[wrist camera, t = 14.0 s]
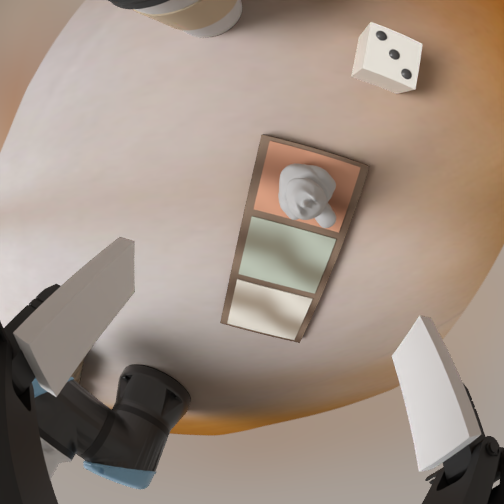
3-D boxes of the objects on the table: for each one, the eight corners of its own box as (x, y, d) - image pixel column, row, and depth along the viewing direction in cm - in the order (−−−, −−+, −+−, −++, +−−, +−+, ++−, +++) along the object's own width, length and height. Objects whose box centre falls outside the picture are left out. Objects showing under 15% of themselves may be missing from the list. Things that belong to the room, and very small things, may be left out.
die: (396, 93, 21) (415, 89, 17) (350, 77, 22) (362, 68, 17) (403, 54, 19) (422, 43, 15) (358, 36, 19) (371, 21, 15)
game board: (299, 337, 36) (299, 343, 35) (222, 318, 37) (220, 323, 36) (367, 165, 25) (370, 166, 24) (262, 134, 26) (261, 134, 25)
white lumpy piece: (306, 146, 25) (312, 156, 17) (348, 198, 26) (368, 226, 19) (265, 182, 27) (253, 205, 20) (307, 229, 28) (311, 268, 21)
